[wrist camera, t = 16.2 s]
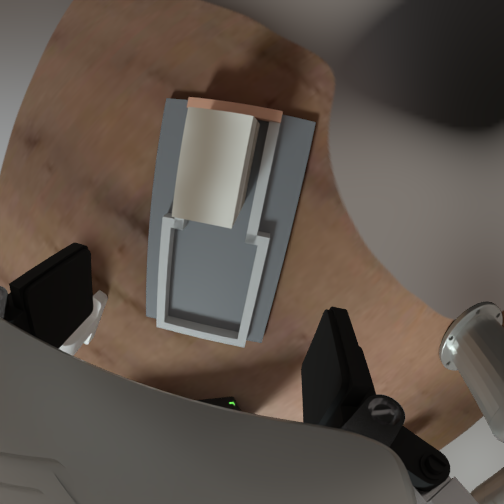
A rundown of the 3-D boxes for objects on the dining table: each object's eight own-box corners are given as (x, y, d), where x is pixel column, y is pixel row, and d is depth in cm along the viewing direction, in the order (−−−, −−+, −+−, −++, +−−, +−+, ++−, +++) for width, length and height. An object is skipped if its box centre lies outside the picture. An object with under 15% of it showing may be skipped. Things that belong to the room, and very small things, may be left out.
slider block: (260, 124, 26) (253, 115, 18) (244, 202, 29) (231, 228, 21) (214, 116, 26) (188, 106, 18) (200, 194, 29) (171, 216, 21)
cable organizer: (108, 296, 36) (70, 338, 27) (93, 338, 40) (61, 379, 30) (79, 274, 35) (36, 311, 26) (67, 319, 39) (33, 356, 29)
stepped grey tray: (314, 122, 27) (320, 120, 23) (261, 338, 36) (260, 358, 33) (169, 99, 27) (155, 94, 23) (148, 311, 36) (137, 329, 33)
